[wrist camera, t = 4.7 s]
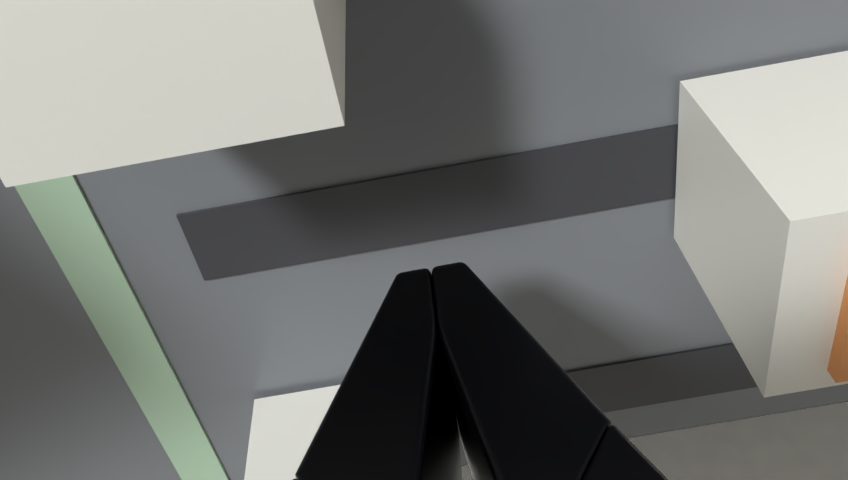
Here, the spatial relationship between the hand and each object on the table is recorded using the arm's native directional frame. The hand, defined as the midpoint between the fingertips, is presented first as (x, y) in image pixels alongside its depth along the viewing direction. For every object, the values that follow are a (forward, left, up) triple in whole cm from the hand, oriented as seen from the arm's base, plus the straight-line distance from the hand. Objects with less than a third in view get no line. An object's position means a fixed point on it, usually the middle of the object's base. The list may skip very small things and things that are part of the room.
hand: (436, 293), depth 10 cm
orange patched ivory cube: (-5, 0, -2) cm, 5 cm away
